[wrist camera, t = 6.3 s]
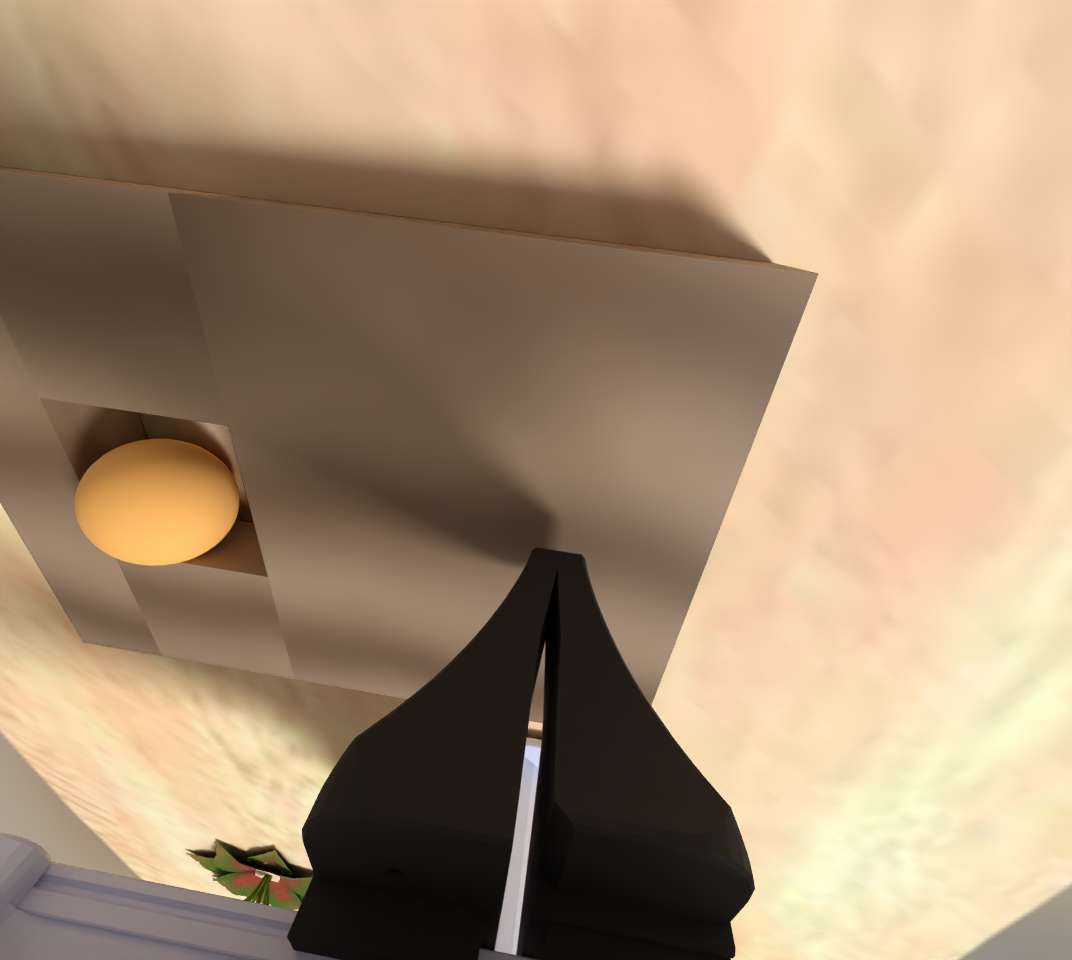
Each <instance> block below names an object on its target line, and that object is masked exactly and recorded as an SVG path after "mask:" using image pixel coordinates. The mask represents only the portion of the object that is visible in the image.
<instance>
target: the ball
mask: <svg viewBox="0 0 1072 960" xmlns="http://www.w3.org/2000/svg"><path fill="white" fill-rule="evenodd" d="M238 510H239V491H238V486H237V484H236V481H235V479H234V476H233V475H232V473H231V472H230V470H229V469H228V468H227V466H226V465H225V464H224V463H223V462H222V461H221V460H220V459H219V458H217V457H216V456H215V455H213V454H212V453H210V452H209V451H207V450H205V449H203V448H201V447H199V446H196V445H194V444H191V443H188V442H184V441H179V440H173V439H147V440H140V441H135V442H132V443H128V444H125V445H122V446H120V447H117V448H115V449H113V450H111V451H109V452H108V453H106V454H104V455H103V456H102V457H100V458H99V459H98V460H97V461H96V462H94V463H93V464H92V465H91V466H90V467H89V469H88V470H87V471H86V472H85V474H84V476H83V477H82V479H81V480H80V482H79V485H78V487H77V490H76V496H75V514H76V518H77V521H78V523H79V525H80V527H81V529H82V531H83V533H84V534H85V535H86V537H87V538H88V539H89V540H90V541H91V542H92V543H93V544H94V545H95V546H96V547H98V548H99V549H100V550H102V551H103V552H105V553H106V554H108V555H110V556H112V557H114V558H117V559H119V560H122V561H125V562H129V563H133V564H140V565H149V566H156V565H169V564H176V563H180V562H183V561H187V560H190V559H192V558H195V557H197V556H199V555H201V554H203V553H205V552H207V551H209V550H210V549H211V548H213V547H214V546H215V545H217V544H218V543H219V542H220V541H221V540H222V539H223V538H224V537H225V536H226V534H227V533H228V532H229V530H230V529H231V527H232V526H233V524H234V522H235V519H236V517H237V514H238Z"/></svg>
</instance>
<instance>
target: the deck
mask: <svg viewBox="0 0 1072 960" xmlns="http://www.w3.org/2000/svg"><path fill="white" fill-rule="evenodd" d="M817 276H818V273H814V272H810V271H805V270H801V269H797V268H792V267H788V266H784V265H780V264H775V263H768V262H760V261H752V260H744V259H736V258H728V257H720V256H712V255H704V254H696V253H688V252H680V251H672V250H664V249H656V248H648V247H640V246H632V245H624V244H616V243H608V242H600V241H592V240H584V239H576V238H568V237H560V236H552V235H544V234H536V233H528V232H520V231H512V230H504V229H496V228H488V227H480V226H472V225H464V224H456V223H448V222H440V221H432V220H424V219H416V218H408V217H400V216H392V215H384V214H376V213H368V212H360V211H351V210H343V209H335V208H327V207H319V206H311V205H303V204H295V203H287V202H279V201H271V200H263V199H255V198H247V197H239V196H231V195H223V194H215V193H207V192H199V191H191V190H183V189H175V188H167V187H159V186H151V185H143V184H135V183H127V182H119V181H111V180H103V179H95V178H87V177H79V176H71V175H63V174H55V173H47V172H39V171H31V170H23V169H15V168H7V167H0V503H1V505H2V506H3V508H4V510H5V511H6V513H7V515H8V516H9V518H10V520H11V522H12V523H13V525H14V527H15V528H16V530H17V532H18V533H19V535H20V537H21V538H22V540H23V542H24V543H25V545H26V547H27V548H28V550H29V552H30V553H31V555H32V557H33V558H34V560H35V562H36V563H37V565H38V567H39V568H40V570H41V572H42V574H43V575H44V577H45V579H46V580H47V582H48V584H49V585H50V587H51V589H52V590H53V592H54V594H55V595H56V597H57V599H58V600H59V602H60V604H61V605H62V607H63V609H64V610H65V612H66V614H67V615H68V617H69V619H70V621H71V622H72V624H73V626H74V627H75V629H76V631H77V632H78V634H79V636H80V637H81V639H82V641H83V642H85V643H91V644H97V645H102V646H108V647H114V648H119V649H125V650H131V651H136V652H142V653H148V654H153V655H159V656H165V657H170V658H176V659H182V660H187V661H193V662H199V663H204V664H210V665H216V666H221V667H227V668H233V669H238V670H244V671H250V672H255V673H261V674H267V675H272V676H278V677H284V678H289V679H295V680H301V681H306V682H312V683H318V684H323V685H329V686H335V687H340V688H346V689H352V690H357V691H363V692H369V693H374V694H380V695H386V696H391V697H397V698H403V699H409V698H410V697H411V696H412V695H413V694H415V693H416V692H417V691H418V690H419V689H421V688H422V687H423V686H424V685H425V684H427V683H428V682H429V681H430V680H431V679H433V678H434V677H435V676H436V675H437V674H438V673H439V672H440V671H441V670H442V669H444V668H445V667H446V666H447V665H448V664H449V663H450V662H451V661H452V660H453V659H454V658H455V657H456V656H457V655H458V654H459V653H460V652H461V651H462V650H463V649H464V648H465V647H466V646H467V645H468V643H469V642H470V641H471V640H472V639H473V638H474V637H475V636H476V635H477V634H478V632H479V631H480V630H481V629H482V628H483V627H484V625H485V624H486V623H487V622H488V620H489V619H490V618H491V617H492V615H493V614H494V613H495V611H496V610H497V609H498V607H499V606H500V605H501V604H502V602H503V601H504V599H505V598H506V596H507V595H508V593H509V592H510V590H511V589H512V587H513V586H514V584H515V583H516V581H517V580H518V578H519V576H520V575H521V573H522V571H523V569H524V567H525V566H526V564H527V561H528V559H529V557H530V554H531V551H532V550H533V549H535V548H536V547H537V548H544V549H550V550H557V551H563V552H569V553H576V554H582V555H583V557H584V558H585V561H586V566H587V571H588V575H589V578H590V582H591V585H592V588H593V591H594V594H595V597H596V600H597V602H598V605H599V607H600V610H601V613H602V615H603V618H604V620H605V622H606V625H607V627H608V629H609V632H610V634H611V636H612V638H613V640H614V642H615V644H616V646H617V648H618V650H619V652H620V654H621V656H622V658H623V660H624V662H625V664H626V665H627V667H628V669H629V671H630V672H631V674H632V676H633V678H634V680H635V681H636V683H637V684H638V686H639V688H640V689H641V691H642V693H643V694H644V696H645V697H646V699H647V701H648V702H649V704H650V705H651V704H652V702H653V699H654V697H655V694H656V692H657V689H658V686H659V684H660V681H661V679H662V676H663V673H664V671H665V668H666V666H667V663H668V661H669V658H670V655H671V653H672V650H673V648H674V645H675V643H676V640H677V637H678V635H679V632H680V630H681V627H682V624H683V622H684V619H685V617H686V614H687V612H688V609H689V606H690V604H691V601H692V599H693V596H694V594H695V591H696V588H697V586H698V583H699V581H700V578H701V575H702V573H703V570H704V568H705V565H706V563H707V560H708V557H709V555H710V552H711V550H712V547H713V545H714V542H715V539H716V537H717V534H718V532H719V529H720V526H721V524H722V521H723V519H724V516H725V514H726V511H727V508H728V506H729V503H730V501H731V498H732V496H733V493H734V490H735V488H736V485H737V483H738V480H739V477H740V475H741V472H742V470H743V467H744V465H745V462H746V459H747V457H748V454H749V452H750V449H751V447H752V444H753V441H754V439H755V436H756V434H757V431H758V428H759V426H760V423H761V421H762V418H763V416H764V413H765V410H766V408H767V405H768V403H769V400H770V398H771V395H772V392H773V390H774V387H775V385H776V382H777V379H778V377H779V374H780V372H781V369H782V367H783V364H784V361H785V359H786V356H787V354H788V351H789V348H790V346H791V343H792V341H793V338H794V336H795V333H796V330H797V328H798V325H799V323H800V320H801V318H802V315H803V312H804V310H805V307H806V305H807V302H808V299H809V297H810V294H811V292H812V289H813V287H814V284H815V281H816V279H817ZM138 412H139V413H146V414H152V415H159V416H166V417H172V418H179V419H186V420H192V421H199V422H206V423H212V424H219V425H226V426H229V430H230V433H231V437H232V441H233V445H234V449H235V453H236V456H237V460H238V464H239V468H240V472H241V476H242V479H243V483H244V487H245V491H246V495H247V499H248V502H249V506H250V510H251V514H252V518H253V522H254V523H252V522H245V521H239V520H235V522H234V524H233V526H232V527H231V529H230V530H229V532H228V533H227V534H226V536H225V537H224V538H223V539H222V540H221V541H220V542H219V543H218V544H217V545H215V546H214V547H213V548H211V549H210V550H209V551H207V552H205V553H203V554H201V555H199V556H197V557H195V558H192V559H190V560H187V561H183V562H180V563H176V564H169V565H156V566H149V565H140V564H133V563H129V562H125V561H122V560H119V559H117V558H114V557H112V556H110V555H108V554H106V553H105V552H103V551H102V550H100V549H99V548H98V547H96V546H95V545H94V544H93V543H92V542H91V541H90V540H89V539H88V538H87V537H86V535H85V534H84V533H83V531H82V529H81V527H80V525H79V523H78V521H77V518H76V514H75V496H76V490H77V487H78V485H79V482H80V480H81V479H82V477H83V476H84V474H85V472H86V471H87V470H88V469H89V467H90V466H91V465H92V464H93V463H94V462H96V461H97V460H98V459H99V458H100V457H102V456H103V455H104V454H106V453H108V452H109V451H111V450H113V449H115V448H117V447H120V446H122V445H125V444H128V443H132V442H135V441H140V440H147V437H146V434H145V432H144V429H143V426H142V423H141V421H140V418H139V415H138ZM544 668H545V645H544V649H543V654H542V658H541V663H540V667H539V671H538V676H537V680H536V685H535V689H534V693H533V698H532V702H531V708H530V716H529V721H533V722H539V723H543V703H544Z"/></svg>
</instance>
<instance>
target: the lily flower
mask: <svg viewBox="0 0 1072 960" xmlns="http://www.w3.org/2000/svg"><path fill="white" fill-rule="evenodd" d="M216 844H217V846H216V854H217V856H215V858H207V857H202V856H198V855H193V854H189V853H186V854H188V855H190V856H191V857H192V858H194V859H195V860H196V861H199V862H200V864H201V865H202V866H203V867H204V868H206V869H207V870H210V871H213V872H217V873H221V874H226V875H224V876H221V877H218V878H216V879H214V878H213V881H217V882H219V883H220V884H221V885H222V886H225V887H226V888H227V890H229V891H230V892H231V893H233V894H234V895H241V896H246V897H247V898H246V899H245V900H244V901H249V902H250V901H251V900H252V901H251V902H255V900H256V903H259V904H260V903H262V904H264V905H269V904H271V905H272V906H274V907H279V908H284V909H289V910H296V909H299V907H300V905H301V901H300V899H303V898H304V896H305V893H306V891H307V889H308V886H309V884H310V882H311V880H312V877H311V878H290V877H284V876H281V875H279V874H276V873H274V872H271V871H268V870H264V869H260V868H257V867H251V866H246V865H243V864H247V863H243V862H239V861H237V860H236V859H235V858H234V857H233V856H232V855H231V854H229V853H228V852H227V851H226V850H225V849H224V848H223V847H222V846H221V845H220V844H219V843H218V842H217V841H216ZM277 854H278V853H277V852H276V850H274V851H272V852H268V853H265V854H260V855H257V856H253V857H248V858H247V860H248V861H249V862H250V863H252V864H259V863H265V862H271V861H273V862H274V863H275V865H276V866H277V867H278V868H279V869H280V870H281V871H282V873H283V874H285V875H287V876H291V875H292V874H293V873H292V872H291V871H290V870H289V869H288V868H287V866H286V865H285V863H284V862H283V861H282V859H281V858H280V857H279V856H278V855H277ZM240 863H242V864H240ZM256 869H258V870H262V871H265V872H270V873H272V874H275V875H278V876H280V880H279V882H278V883H277V882H273V881H271V879H272V876H271V875H267V874H266V875H265V876H264V877H263V878H260V877H257V876H255V870H256ZM299 898H300V899H299Z"/></svg>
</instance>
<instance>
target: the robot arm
mask: <svg viewBox="0 0 1072 960" xmlns="http://www.w3.org/2000/svg"><path fill="white" fill-rule="evenodd" d="M544 645H545V668H544V703H543V729H542V740H540V739H534V738H529V737H527V731H528V723H529V716H530V708H531V702H532V698H533V693H534V689H535V685H536V680H537V676H538V671H539V667H540V663H541V658H542V654H543V649H544ZM302 838H303V843H304V846H305V849H306V852H307V854H308V857H309V860H310V863H311V866H312V869H313V872H314V875H313V877H312V880H311V882H310V884H309V886H308V889H307V891H306V893H305V896H304V898H303V900H302V903H301V905H300V907H299V910H298V911H294V910H289V909H284V908H279V907H274V906H269V905H264V904H259V903H254V902H249V901H244V900H239V899H234V898H229V897H224V896H219V895H214V894H209V893H204V892H199V891H194V890H189V889H185V888H180V887H175V886H170V885H165V884H160V883H155V882H150V881H145V880H140V879H135V878H130V877H125V876H120V875H115V874H109V873H105V872H100V871H95V870H89V869H85V868H80V867H75V866H70V865H65V864H60V863H55V862H52V861H51V857H50V855H49V854H48V853H47V852H46V851H45V850H44V849H43V848H42V847H41V846H39V845H37V844H36V843H34V842H32V841H30V840H27V839H25V838H22V837H18V836H14V835H9V834H4V833H0V960H731V959H730V958H733V957H734V956H735V944H734V939H733V934H732V928H731V923H730V922H731V921H732V919H733V918H734V917H735V916H736V915H737V914H738V913H739V911H740V910H741V909H742V908H743V907H744V906H745V905H746V904H747V902H748V901H749V899H750V897H751V896H752V894H753V892H754V890H755V886H754V880H753V875H752V870H751V865H750V861H749V858H748V854H747V851H746V848H745V845H744V842H743V839H742V836H741V833H740V831H739V828H738V825H737V823H736V820H735V817H734V815H733V812H732V809H731V807H730V806H729V805H728V804H727V803H726V801H725V800H724V799H723V798H722V797H721V796H720V794H719V793H718V792H717V791H716V790H715V789H714V788H713V786H712V785H711V784H710V783H709V782H708V781H707V779H706V778H705V777H704V776H703V775H702V773H701V772H700V771H699V770H698V769H697V767H696V766H695V765H694V764H693V763H692V761H691V760H690V759H689V757H688V756H687V755H686V753H685V752H684V751H683V750H682V748H681V747H680V746H679V744H678V743H677V742H676V741H675V739H674V738H673V737H672V735H671V734H670V732H669V731H668V729H667V728H666V727H665V725H664V724H663V722H662V721H661V719H660V718H659V716H658V715H657V714H656V712H655V711H654V709H653V708H652V706H651V705H650V704H649V702H648V701H647V699H646V697H645V696H644V694H643V693H642V691H641V689H640V688H639V686H638V684H637V683H636V681H635V680H634V678H633V676H632V674H631V672H630V671H629V669H628V667H627V665H626V664H625V662H624V660H623V658H622V656H621V654H620V652H619V650H618V648H617V646H616V644H615V642H614V640H613V638H612V636H611V634H610V632H609V629H608V627H607V625H606V622H605V620H604V618H603V615H602V613H601V610H600V607H599V605H598V602H597V600H596V597H595V594H594V591H593V588H592V585H591V582H590V578H589V575H588V571H587V566H586V561H585V558H584V557H583V555H582V554H576V553H569V552H563V551H557V550H550V549H544V548H537V547H536V548H535V549H533V550H532V551H531V554H530V557H529V559H528V561H527V564H526V566H525V567H524V569H523V571H522V573H521V575H520V576H519V578H518V580H517V581H516V583H515V584H514V586H513V587H512V589H511V590H510V592H509V593H508V595H507V596H506V598H505V599H504V601H503V602H502V604H501V605H500V606H499V607H498V609H497V610H496V611H495V613H494V614H493V615H492V617H491V618H490V619H489V620H488V622H487V623H486V624H485V625H484V627H483V628H482V629H481V630H480V631H479V632H478V634H477V635H476V636H475V637H474V638H473V639H472V640H471V641H470V642H469V643H468V645H467V646H466V647H465V648H464V649H463V650H462V651H461V652H460V653H459V654H458V655H457V656H456V657H455V658H454V659H453V660H452V661H451V662H450V663H449V664H448V665H447V666H446V667H445V668H444V669H442V670H441V671H440V672H439V673H438V674H437V675H436V676H435V677H434V678H433V679H431V680H430V681H429V682H428V683H427V684H425V685H424V686H423V687H422V688H421V689H419V690H418V691H417V692H416V693H415V694H413V695H412V696H411V697H410V698H409V699H407V700H406V701H405V702H404V703H403V704H401V705H400V706H399V707H397V708H396V709H395V710H393V711H392V712H391V713H389V714H388V715H386V716H385V717H384V718H382V719H381V720H380V721H378V722H377V723H375V724H374V725H373V726H371V727H370V728H368V729H367V730H366V731H364V732H363V733H361V734H360V735H358V736H357V737H356V738H355V739H354V740H353V741H352V743H351V744H350V745H349V747H348V748H347V749H346V751H345V752H344V754H343V755H342V756H341V758H340V759H339V761H338V762H337V764H336V765H335V767H334V769H333V770H332V772H331V773H330V775H329V777H328V778H327V780H326V782H325V783H324V785H323V787H322V789H321V791H320V793H319V795H318V797H317V799H316V801H315V803H314V805H313V807H312V810H311V812H310V814H309V816H308V818H307V820H306V822H305V824H304V826H303V828H302Z"/></svg>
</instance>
